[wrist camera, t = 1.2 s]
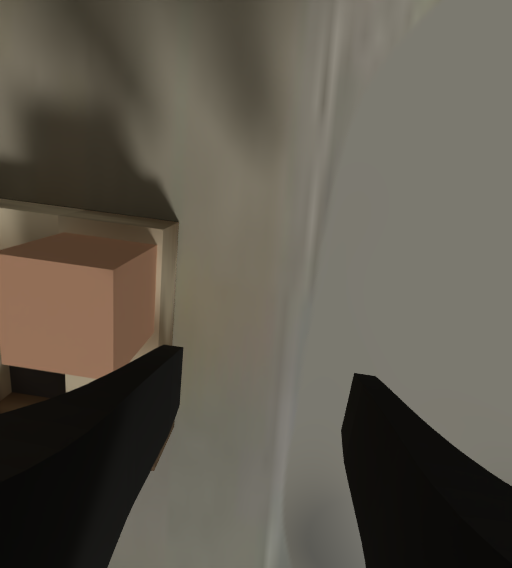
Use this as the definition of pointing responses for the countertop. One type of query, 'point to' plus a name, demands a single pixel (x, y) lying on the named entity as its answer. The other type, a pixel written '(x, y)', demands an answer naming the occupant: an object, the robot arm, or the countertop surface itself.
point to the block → (76, 303)
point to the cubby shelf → (55, 219)
